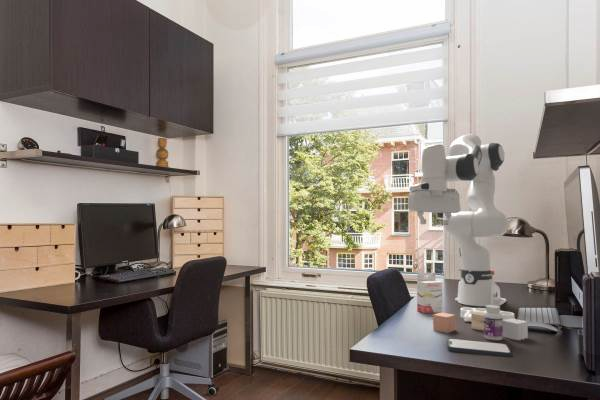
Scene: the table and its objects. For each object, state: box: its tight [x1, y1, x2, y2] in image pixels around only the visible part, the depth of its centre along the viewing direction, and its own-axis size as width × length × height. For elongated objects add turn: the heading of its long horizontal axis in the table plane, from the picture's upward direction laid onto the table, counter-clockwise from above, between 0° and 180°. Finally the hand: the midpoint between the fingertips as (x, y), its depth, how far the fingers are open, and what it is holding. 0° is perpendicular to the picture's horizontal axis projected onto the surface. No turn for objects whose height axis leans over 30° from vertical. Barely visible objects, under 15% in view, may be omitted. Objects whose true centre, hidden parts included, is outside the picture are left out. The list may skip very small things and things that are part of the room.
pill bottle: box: [483, 305, 504, 341], centre depth 132 cm, size 5×5×10 cm
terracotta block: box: [432, 311, 456, 334], centre depth 142 cm, size 5×5×5 cm
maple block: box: [470, 311, 485, 331], centre depth 144 cm, size 5×5×5 cm
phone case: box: [446, 338, 513, 357], centre depth 121 cm, size 9×2×16 cm
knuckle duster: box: [459, 307, 516, 323], centre depth 155 cm, size 3×18×15 cm
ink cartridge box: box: [416, 272, 443, 314], centre depth 169 cm, size 9×5×15 cm, turn 108°
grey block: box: [503, 318, 529, 341], centre depth 133 cm, size 5×5×5 cm
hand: (434, 224), depth 160 cm, fingers open, 8 cm apart
